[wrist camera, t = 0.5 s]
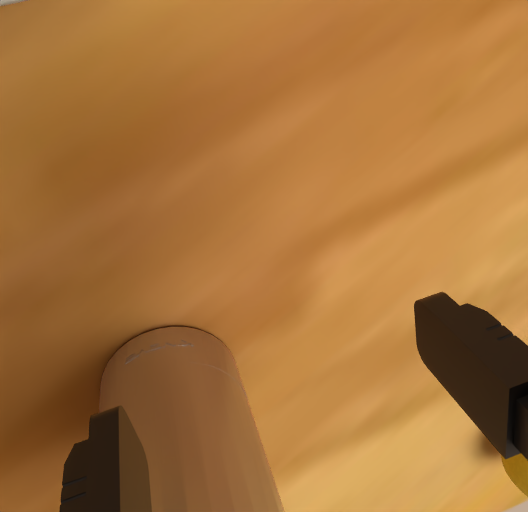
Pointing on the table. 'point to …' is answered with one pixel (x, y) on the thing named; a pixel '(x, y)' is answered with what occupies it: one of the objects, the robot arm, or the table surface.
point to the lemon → (517, 471)
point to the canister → (10, 2)
